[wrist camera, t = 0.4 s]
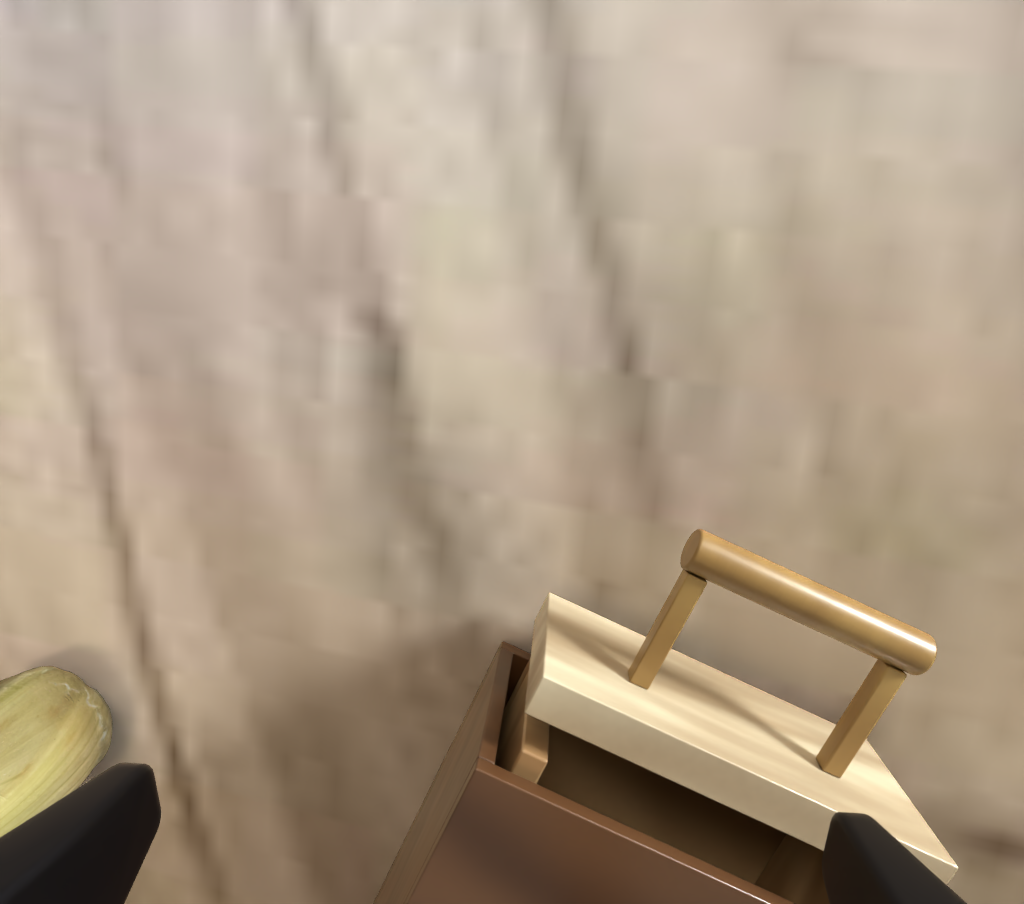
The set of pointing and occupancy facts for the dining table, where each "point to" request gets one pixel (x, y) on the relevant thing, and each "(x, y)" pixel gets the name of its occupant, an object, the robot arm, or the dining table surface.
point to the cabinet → (535, 834)
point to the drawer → (716, 729)
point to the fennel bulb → (47, 740)
